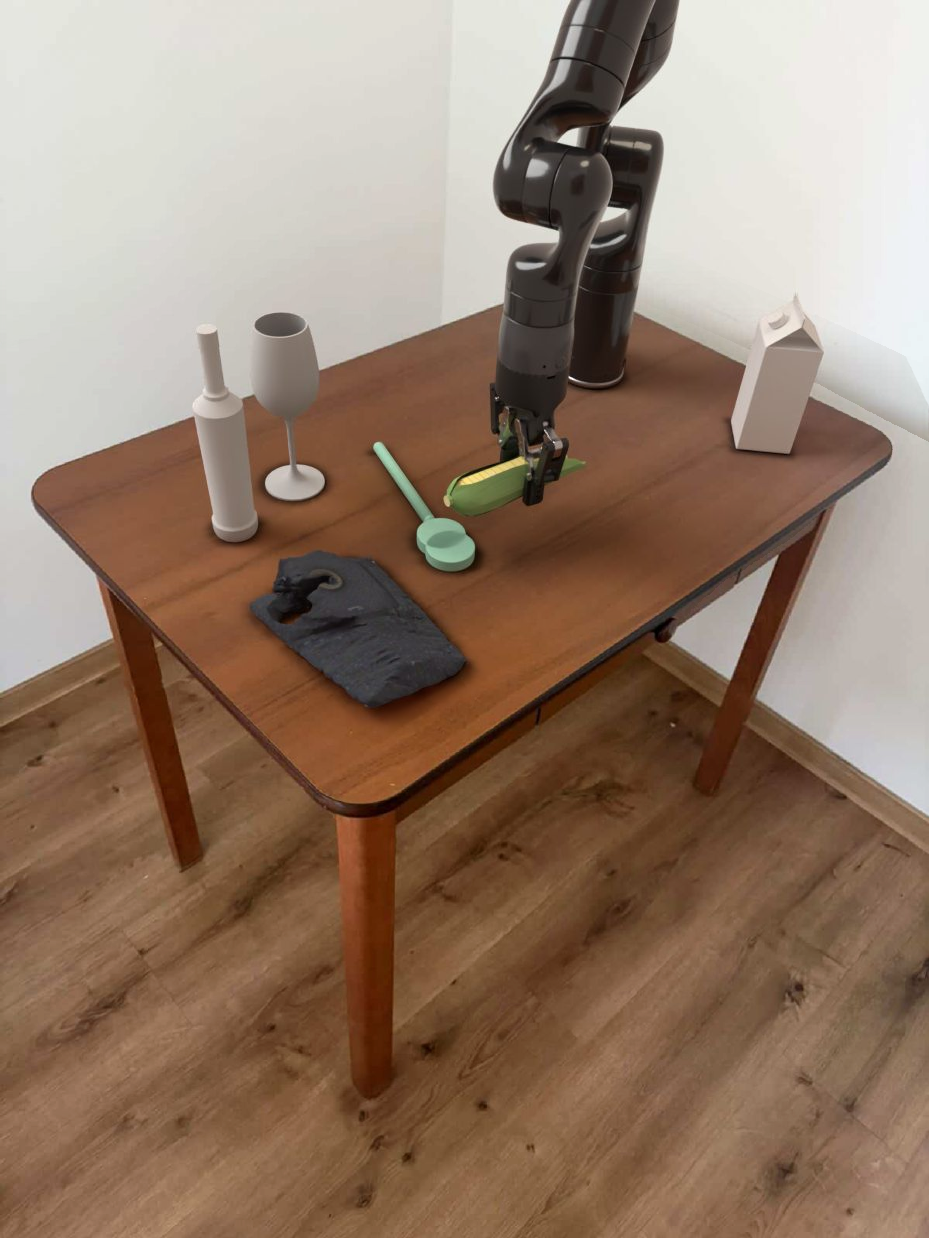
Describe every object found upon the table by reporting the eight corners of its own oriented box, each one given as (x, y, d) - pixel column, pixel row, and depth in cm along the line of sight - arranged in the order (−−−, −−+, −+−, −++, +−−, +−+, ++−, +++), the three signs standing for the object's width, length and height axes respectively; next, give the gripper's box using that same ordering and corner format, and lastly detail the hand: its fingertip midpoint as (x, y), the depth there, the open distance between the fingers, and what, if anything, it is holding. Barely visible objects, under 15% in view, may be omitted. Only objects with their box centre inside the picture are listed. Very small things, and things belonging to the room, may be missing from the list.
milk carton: (782, 426, 133) (824, 295, 119) (789, 455, 128) (834, 322, 114) (730, 421, 133) (767, 289, 120) (735, 450, 128) (774, 316, 115)
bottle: (221, 548, 109) (187, 346, 91) (207, 522, 112) (172, 322, 95) (265, 536, 111) (240, 336, 93) (250, 511, 114) (224, 312, 96)
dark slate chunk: (350, 737, 90) (348, 704, 87) (240, 603, 102) (235, 570, 99) (480, 669, 97) (482, 636, 94) (362, 552, 109) (361, 519, 106)
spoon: (356, 453, 123) (356, 444, 122) (397, 444, 125) (397, 435, 124) (437, 576, 107) (437, 567, 106) (482, 564, 109) (483, 555, 108)
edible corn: (432, 507, 107) (433, 474, 104) (571, 453, 115) (576, 421, 112) (459, 532, 104) (461, 499, 101) (599, 475, 113) (605, 443, 109)
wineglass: (300, 457, 122) (287, 301, 107) (338, 485, 118) (330, 327, 104) (251, 481, 118) (230, 322, 103) (289, 510, 114) (272, 349, 100)
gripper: (470, 327, 101) (463, 461, 113) (535, 395, 92) (519, 533, 104) (533, 315, 103) (519, 448, 115) (602, 380, 94) (580, 517, 106)
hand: (520, 488), depth 109 cm, fingers closed on edible corn, 5 cm apart
